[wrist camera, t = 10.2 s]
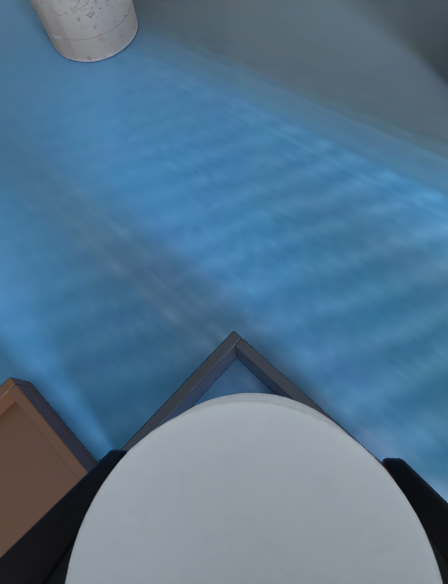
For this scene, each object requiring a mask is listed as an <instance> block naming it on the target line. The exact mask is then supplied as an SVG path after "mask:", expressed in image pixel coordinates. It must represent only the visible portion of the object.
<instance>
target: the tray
mask: <svg viewBox="0 0 448 584" xmlns="http://www.w3.org/2000/svg"><path fill="white" fill-rule="evenodd" d="M96 464H97V462H96V461H95V460H94V458H93V457H92V456H91V455H90V454H89V452H88V451H87V450H86V449H85V448H84V446H83V445H82V444H81V443H80V442H79V440H78V439H77V438H76V437H75V436H74V434H73V433H72V432H71V431H70V430H69V428H68V427H67V426H66V425H65V424H64V422H63V421H62V420H61V419H60V418H59V416H58V415H57V414H56V413H55V412H54V410H53V409H52V408H51V407H50V406H49V404H48V403H47V402H46V401H45V400H44V398H43V397H42V396H41V395H40V394H39V392H38V391H37V390H36V389H35V388H34V386H33V385H32V384H31V383H30V382H28V381H23V380H19V379H15V378H11V377H10V378H9V379H8V380H7V381H6V382H4V383H3V384H2V385H1V386H0V557H1V556H3V555H4V554H5V553H6V552H7V551H8V550H9V549H10V548H11V547H12V546H13V545H14V544H15V543H16V542H17V541H18V540H19V539H20V538H21V537H22V536H23V535H24V534H25V533H26V532H27V531H28V530H29V529H30V528H31V527H32V526H33V525H34V524H35V523H36V522H38V521H39V520H40V519H41V518H42V517H43V516H44V515H45V514H46V513H47V512H48V511H49V510H50V509H51V508H52V507H53V506H54V505H55V504H56V503H57V502H58V501H59V500H60V499H61V498H62V497H63V496H64V495H65V494H66V493H67V492H68V491H69V490H70V489H71V488H73V487H74V486H75V485H76V484H77V483H78V482H79V481H80V480H81V479H82V478H83V477H84V476H85V475H86V474H87V473H88V472H89V471H90V470H91V469H92V468H93V467H94V466H95V465H96Z"/></svg>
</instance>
